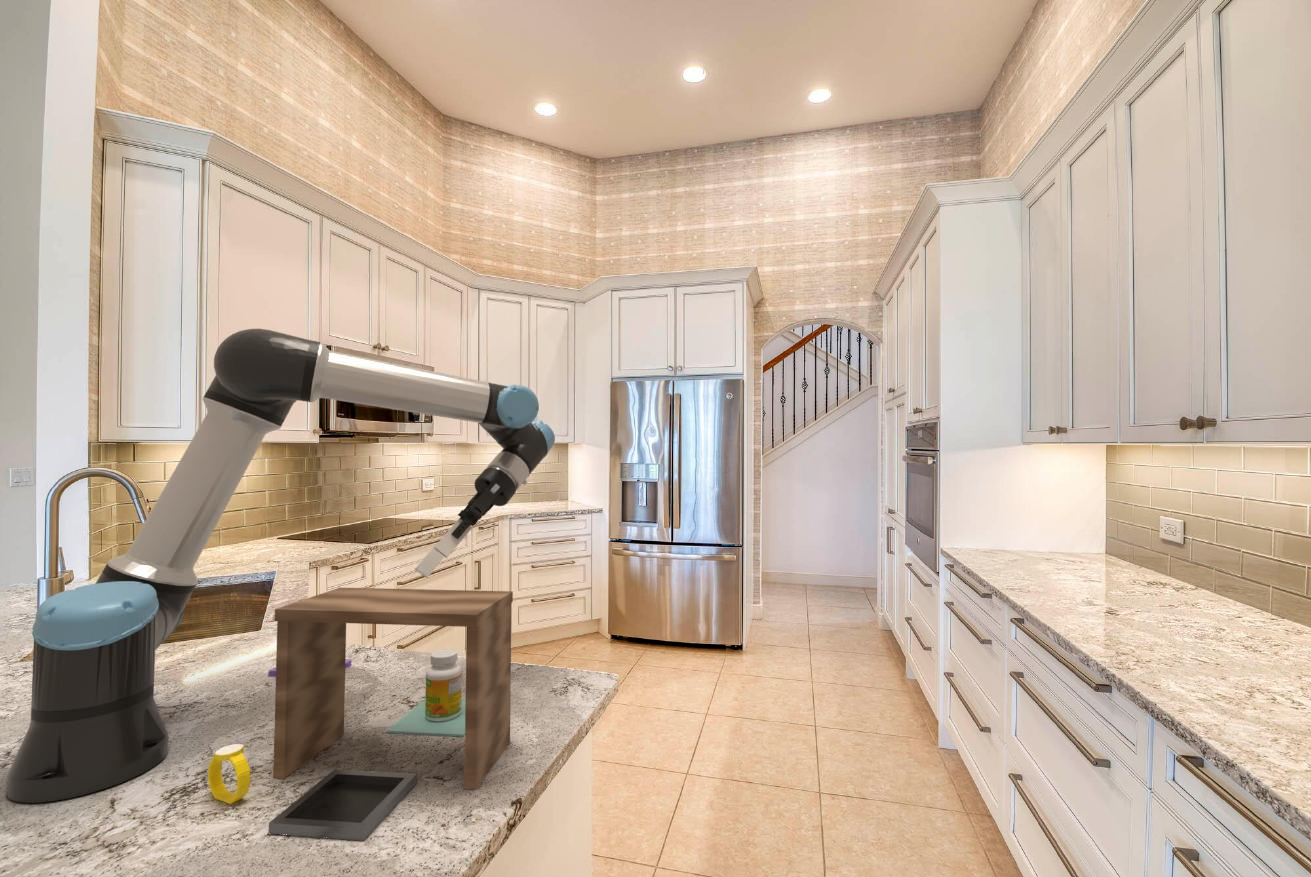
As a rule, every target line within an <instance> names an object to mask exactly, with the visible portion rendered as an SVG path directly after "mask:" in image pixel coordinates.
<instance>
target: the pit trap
mask: <svg viewBox="0 0 1311 877" xmlns="http://www.w3.org/2000/svg"><path fill="white" fill-rule="evenodd" d="M417 775H418V774H417V773H409V772H408V773H405V772H390V771H389V772H388V771H373V770H372V771H370V770H369V771H368V770H354V769H352V770H351V769H349V770H348V769H333V770H332V771H331V772H330V773H329V774H327V775H326V776H325V777H324V778H322V779H321V780H319V782H317V783H316V784H315V785H313V786H312V787H311V788H310V789H309V790H307V791H306V792H305V793H304V794H303V795H301V796H300V797H299V798H297V799H296V800H295V801H294V802H292V804H290V805H289V806H288V807H286V808H285V809H284V810H283V811H281V812H280V813H279V814H278V815H276V816H275V817H274V818H273V819H272V820H270V821H269V822H268V833H267V834H268V835H272V834H285V835H284V836H286V834H287V835H291V836H290V837H302V838H304V837H306V838H315V837H317V838H318V837H319V839H330V838H336V839H335V840H345V841H346V840H347V841H361V842H362V841H363V842H364V841H365V840H366V839H367V838H368V837H369V836H370V835H371V834H372V833H373V832H374V831H375V829H376V828H377V827H378V826H379V825H380V824H381V823H382V822H383V821H384V820H385V818H387V816H388V815H389V814H390V813H391V812H392V811H393V810H394V809H395V808H396V807H397V805H399V804H400V803H401V801H402V800H403V799H404V798H405V797H406V796H407V794H408V793H410V792H411V790H413V788H414V787H415V786H416V785H417V779H418V778H417ZM269 833H270V834H269ZM320 837H321V838H320ZM323 837H325V838H323ZM326 837H327V838H326Z"/></svg>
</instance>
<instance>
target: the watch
mask: <svg viewBox="0 0 1311 877" xmlns="http://www.w3.org/2000/svg"><path fill="white" fill-rule="evenodd" d="M244 747H245V746H244V745H243V744H242V743H234V744H229V745H226V746H223V747H221V748H219V749H217V750H216V751H215V753H214V756H212V757H211V761H210V762H209V765H208V769H207V770H208V772H207V781H208V785H209V789H210V792H211V794H212V796H213V798H214V800H218V801H221V802H224V803H226V804H229V805H232V804H234V803H237V802H238V801H240V800H242V799H243V798H244V797H246V795H247V793H248V792H249V788H250V785H251V768H250V765H249V762H248V760H247V757H246V756H245V754H243V753H244ZM227 760H229V762H230V763H231V765H232V766H233V768H234V772H235V775H236V791H235V793H234V792H231V791H230V790H228V788H227V787H226V785H225V783H224V780H223V779H224V778H223V775H222V767H223V766H222V764H223V761H227Z"/></svg>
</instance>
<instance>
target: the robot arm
mask: <svg viewBox="0 0 1311 877" xmlns="http://www.w3.org/2000/svg"><path fill="white" fill-rule="evenodd" d="M213 369H214V373H215V375H214V378H213V379H212V381H211V382H210V384H209V386H208V388H207V390H206V392H205V394H204V395H203V397H202V401H203V403H204V405H205V407H206V410H207V411H206V415H205V417H204V418H203V420H202V422H201V424H200V425H199V427H198V428H197V431H196V432H195V433H194V436H193V437H192V440H191V441H190V443H189V444H188V446H187V448H186V449H185V451H184V453H183V454H182V457H181V458H180V460H179V462H178V463H177V466H176V467H175V469H174V471H173V473H172V474H171V476H170V477H169V479H168V481H167V483H166V484H165V486H164V487H163V490H162V491H161V492H160V495H159V496H158V498H157V500H156V502H155V504H154V506H153V507H152V508H151V511H150V513H149V514H148V515H147V518H146V519H145V522H144V523H143V524H142V526H141V528H140V530H139V532H138V533H137V535H136V537H135V539H134V540H133V542H132V544H131V546H130V547H129V549H128V550H127V552H126V553H123V554H121V555H118V556H116V557H114V558H110V559H109V560H108V562H106V565H105V566H104V568H103V569H102V571H101V573H100V575H99V576H98V578H97V579H96V580H97V581H96V582H94V583H93V584H88V585H87V584H86V585H82V586H77V587H76V588H75V589H66V590H64V591H61V592H58V593H55V594H54V595H52V596H49V597H48V598H46V599H45V600H44V601H43V602H42V603H41V604H40V605H39V607H38V608H37V610H36V614H35V620H34V623H33V625H32V631H31V635H32V637H33V652H32V655H33V656H32V658H33V659H32V676H31V677H32V679H31V680H32V681H31V683H32V684H31V701H30V702H31V707H30V710H31V711H30V723H29V727H28V729H27V731H26V734H25V735H24V738H23V740H22V742H21V745H20V747H19V748H18V751H17V752H16V755H15V757H14V759H13V762H12V764H11V766H10V768H9V770H8V773H7V777H6V791H5V792H6V794H5V795H6V797H7V798H8V799H9V800H11V801H14V802H18V803H24V804H25V803H29V804H30V803H31V804H32V803H33V804H34V803H46V802H54V801H59V800H66V799H71V798H75V797H79V796H84V795H87V794H92V793H95V792H98V791H102V790H105V789H108V788H111V787H113V786H116V785H118V784H119V785H120V784H122V783H124V782H127V781H128V780H131V779H133V778H136V777H137V776H140V775H142V774H143V773H145V772H148V771H149V770H150V769H152V768H154V767H155V766H156V765H158V764H159V763H161V761H163V760H164V759H165V758H166V757H167V755H168V753H169V737H170V736H169V732H168V730H167V727H166V725H165V723H164V720H163V718H162V715H161V713H160V710H159V708H158V706H157V703H156V700H155V697H154V696H155V695H154V694H155V693H154V690H155V689H154V688H155V664H156V650H157V649H158V648H159V647H160V645H161V644H163V642H165V641H166V640H167V639H169V637H170V636H171V635H172V634H173V633H174V632H175V631H176V630H177V628H178V627H179V625H180V623H181V621H182V620H183V617H184V612H185V607H186V605H187V603H188V601H189V600H190V598H191V596H192V594H193V592H194V591H195V589H196V587H197V585H198V582H199V580H198V577H197V575H196V573H195V571H194V567H195V565H196V564H197V562H198V560H199V558H200V555H201V554H202V552H203V550H204V548H205V547H206V545H207V543H208V541H209V540H210V537H211V536H212V534H213V532H214V530H215V528H216V527H217V525H218V523H219V521H220V519H221V518H222V515H223V514H224V512H225V509H226V508H227V507H228V505H229V502H230V501H231V498H232V496H233V495H234V493H235V491H236V489H237V488H238V486H239V484H240V482H241V481H242V478H243V476H244V475H245V473H246V471H247V469H248V467H249V466H250V463H251V462H252V460H253V458H254V456H255V454H256V452H257V450H258V449H259V447H260V445H261V443H262V442H263V440H264V438H265V435H266V434H268V433H272V432H273V431H278V430H280V429H281V428H282V425H283V424H284V422H285V421H286V418H287V416H288V415H289V413H290V411H291V409H292V408H293V406H294V404H295V403H296V402H298V401H301V402H307V403H314V402H317V400H319V399H327V400H334V401H340V402H347V403H352V404H353V403H354V404H359V405H365V406H372V407H379V408H384V409H390V410H396V411H397V410H398V411H402V412H409V413H415V414H423V415H428V416H433V417H435V416H436V417H441V418H446V419H447V418H448V419H453V420H460V421H464V422H472V423H477V424H478V425H480V427H482V429H484V431H485V432H487V434H489V436H490V437H491V438H492V439H493V440H494V441H496V443H497V444H498V445H499V446H500V447H501V448H502V450H501V451H500V452H499V453H498V454H496V456H495V457H494V458H493V459H492V461H490V462H489V464H488V465H487V467H486V468H485V469H484V470H483V471H482V472H481V473H480V475H478V476H477V478H476V479H474V488H475V491H476V493H475V494H474V496H472V498H471V499H469V501H468V502H467V505H466V506H465V508H464V509H461V510H460V512H459V513H458V514H457V516H458V517H459V518H458V520H456V521H455V523H453V525H452V526H451V528H449V530H448V531H447V532H446V533H444V534H445V535H444V536H442V538H441V539H439V540H438V542H437V543H435V545H434V546H433V547H432V548H431V550H430V551H429V552H428V553H427V555H425V556H424V558H423V559H422V560H421V561H420V563H418V565H417V566H416V567H415V568H414V571H416V572H418V573H419V574H421V575H422V576H423V577H424V578H426V579H428V577H429V576H430V575H431V574H432V573H433V571H434V570H436V568H437V567H438V566H439V565H440V563H441V562H442V561H443V560H444V558H445V559H447V558H448V557H449V556H450V555H451V554H453V552H454V551H455V549H456V548H457V547H458V545H459V544H460V543H461V542H462V541H463V540H464V539H465V537H466V536H467V535H468V533H469V532H470V531H471V530H472V529H473V527H474V526H475V525H476V524H477V523H478V521H479V520H481V519H482V517H484V516H485V515H486V514H488V512H489V511H491V509H492V508H493V507H494V506H495V507H504V506H506V505H507V504H508V503H509V502H510V500H511V499H512V498H513V497H514V495H515V494H516V491H518V490H519V488H520V487H521V486H522V485H523V486H526V485H527V484H528V481H527V479H528V478H529V476H530V475H531V473H533V471H534V470H536V468H537V466H538V465H540V463H541V462H542V461H543V460H544V459H545V458H546V457H547V455H548V453H550V451H551V449H552V448H553V446H554V444H555V442H556V436H555V433H554V431H553V429H552V428H551V426H550V425H548V424H547V423H544V422H543V420H541V419H537V416H538V414H539V411H540V410H539V409H540V408H539V407H540V404H539V399H538V397H537V395H536V393H535V392H534V391H533V390H532V389H530V388H529V387H528V386H525V385H520V384H519V385H518V384H511V385H504V384H503V385H502V384H498V383H493V382H490V381H489V382H487V381H484V380H483V381H482V380H478V379H472V378H467V377H463V376H460V375H454V374H449V373H444V372H443V373H442V372H438V371H433V370H427V369H422V368H417V367H413V366H408V365H402V364H398V363H393V362H388V361H382V360H378V359H372V358H368V357H363V356H358V355H353V354H348V353H342V352H338V351H333V350H330V349H328V347H327V346H326V345H325V343H324V342H321V341H316V340H312V339H307V338H302V337H299V336H295V335H292V334H286V333H283V332H279V331H275V330H271V329H265V328H264V329H263V328H248V329H243V330H239V331H237V332H234V333H232V334H230V335H229V336H228V337H226V338H225V339H223V340H222V342H221V343H220V344H219V346H218V347H217V349H216V351H215V353H214V358H213Z"/></svg>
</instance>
